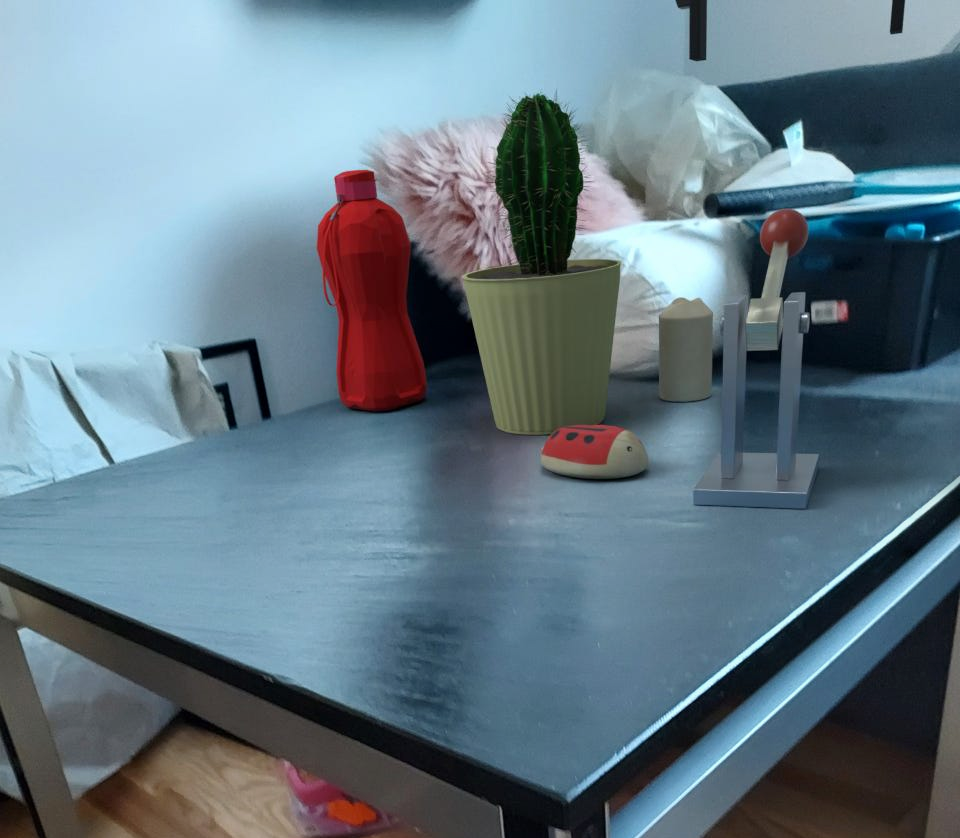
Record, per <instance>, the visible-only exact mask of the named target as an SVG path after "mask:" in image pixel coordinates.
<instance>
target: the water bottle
mask: <svg viewBox="0 0 960 838" xmlns="http://www.w3.org/2000/svg"><path fill="white" fill-rule="evenodd" d="M375 177H376V176H375V171H373V170H370V169H355V170H345V171H341V172H340V173H338V174H337V175H335V176H334V177H333V178H334V179H333V180H334V188H335V193H336V195H335V196H336V201H337V203H336V204H334V205H333V206H332V207H331V208H330V209H328V211H327V212H326V213H324V215H323V217H322V218H321V220H320V221H319V223H318V225H317V238H316V251H317V254H318V258H319V262H320V266H321V268H322V270H321V271H322V286H323V292H324V297H325V300H326V302H327V304H328V305H329V306H332V307H336V313H337V318H338V319H337V320H338V332H337V333H338V334H337V352H336V353H337V354H336V371H335V372H336V382H337V392H338V396H339V399H340V401H341V404H342V405H343V406H345V407H346V408H348V409H353V410H362V411H363V410H364V411H368V412H369V411H370V412H375V413H376V412H387V411H388V412H389V411H392V410H395V409H399V408H401V407H404V406H408V405H411V404H415V403H418V402H420V401H422V399H424V398H425V396H426V393H427V387H428V382H427V376H426V370H425V369H426V368H425V363H424V360H423V357H422V353H421V351H420V348H419V344H418V341H417V339H416V335H415V333H414V329H413V326H412V323H411V320H410V317H409V314H408V303H407V302H408V301H407V292H408V283H409V282H408V280H409V270H410V261H411V260H410V259H411V248H412V247H411V246H412V245H411V241H410V238H409V234H408V231H407V228H406V225H405V221H404V218H403V216H402V215H401V214H400V213H399V212H398V211H397V210H396V209H395V208H394V207H393V206H392V205H389V204H388V203H386V202H384V201H383V200H381V199H379V198H378V193H377V192H378V191H377V183H376V182H377V181H378V180H377V179H376V178H375ZM327 284H328V286H329V290H330V292H331V294H332V298H333V300H334V304H333V303H331V302H330V301H331V300H330V298H329V296H328V291H327Z"/></svg>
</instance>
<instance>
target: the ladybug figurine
mask: <svg viewBox="0 0 960 838" xmlns="http://www.w3.org/2000/svg"><path fill="white" fill-rule="evenodd" d="M540 450H541V451H540V452H541V453H540V464H541V465H542V467H543V468H545V469H546V470H548V471H550V472H552V473H554V474H558V475H560V476H561V475H562V476H566V477H572V478H579V479H587V480H588V479H589V480H591V479H592V480H612V479H613V480H614V479H623V478H628V477H631V476H635V475H638V474H640V473H642V472H643V471H644V470H646V469H647V468H648V467H649V464H650V459H649V455H648V451H647V450H646V448H645V446H644V445H643V442H642V441H641V439H639V437H637V436H636V435H635V434H634V433H632V432H631V431H630V430H628V429H626V428H623V427H618V426H612V425H606V424H605V425H604V424H597V425H595V424H593V425H572V426H566V427H562V428H559V429H557V430H556V431H555V432H554V433H552V434H550V435H549V437H548V438H547V440H546V441H545V443H544V445H543V446H542V448H541V449H540Z"/></svg>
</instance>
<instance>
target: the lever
mask: <svg viewBox="0 0 960 838" xmlns="http://www.w3.org/2000/svg"><path fill="white" fill-rule="evenodd" d="M809 232H810V231H809V223H808V222H807V219H806V218H805V216H804V215H803V214H802V213H801V212H799V211H798V210H796V209H793V208H782V209H778V210H776V211H774V212H772V213H771V214H769V216H768V217H767V218H766V219H765V220H764V222H763V223H762V226H761V229H760V232H759V242H760V245H761V248H762V249H763V251H764V252H765V253H766V255H768V256H769V262H768V267H767V270H766V275H765V278H764V284H763V288H762V292H761V297H760V298H759V297H758V298H750V301H749V304H748V313H747V318H746V322H745V330H746V352H753V351H758V352H759V351H778V350H779V348H780V347H779V346H780V341H781V339H782V333H783V312H784V301H783V300H784V299H783V298H784V297H780V296H781V290H782V285H783V282H784V276H785V272H786V266H787V261H788V259H790V258H792V257H794V256H796V255H797V254H799V253H800V252H801V251H802V249H804V247H805V246H806V243H807V241H808V238H809Z"/></svg>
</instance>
